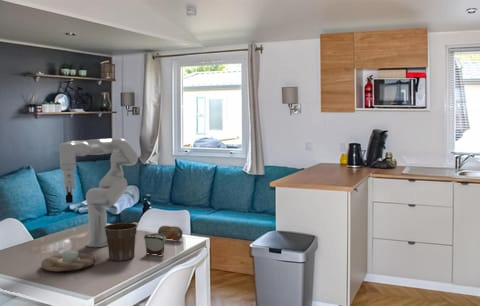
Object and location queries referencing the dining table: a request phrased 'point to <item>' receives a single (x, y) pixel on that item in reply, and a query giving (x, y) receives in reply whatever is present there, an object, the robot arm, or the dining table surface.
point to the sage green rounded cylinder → (70, 256)
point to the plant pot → (121, 240)
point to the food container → (155, 243)
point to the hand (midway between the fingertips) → (69, 202)
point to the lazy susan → (58, 265)
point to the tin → (171, 232)
